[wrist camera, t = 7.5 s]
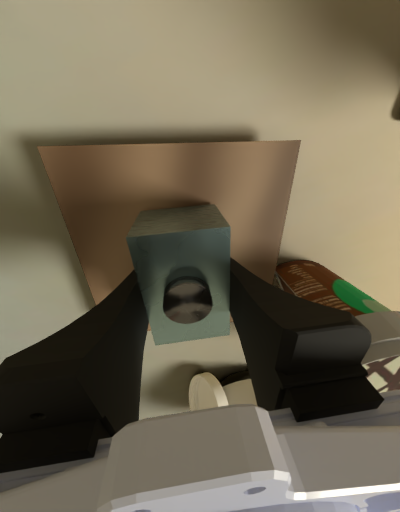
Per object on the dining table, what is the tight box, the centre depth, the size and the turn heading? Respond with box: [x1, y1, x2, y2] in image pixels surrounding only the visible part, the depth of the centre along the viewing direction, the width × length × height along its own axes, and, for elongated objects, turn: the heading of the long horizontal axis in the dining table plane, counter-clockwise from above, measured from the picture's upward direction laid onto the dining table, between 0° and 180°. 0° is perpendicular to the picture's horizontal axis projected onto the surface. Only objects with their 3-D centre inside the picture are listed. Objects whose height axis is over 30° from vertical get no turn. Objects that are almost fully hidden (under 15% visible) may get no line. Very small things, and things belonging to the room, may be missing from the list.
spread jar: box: [189, 371, 257, 411], centre depth 22 cm, size 12×11×12 cm
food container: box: [275, 260, 400, 393], centre depth 16 cm, size 12×6×10 cm, turn 28°
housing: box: [126, 204, 231, 345], centre depth 11 cm, size 7×4×5 cm, turn 4°
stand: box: [37, 140, 301, 331], centre depth 15 cm, size 14×14×2 cm
